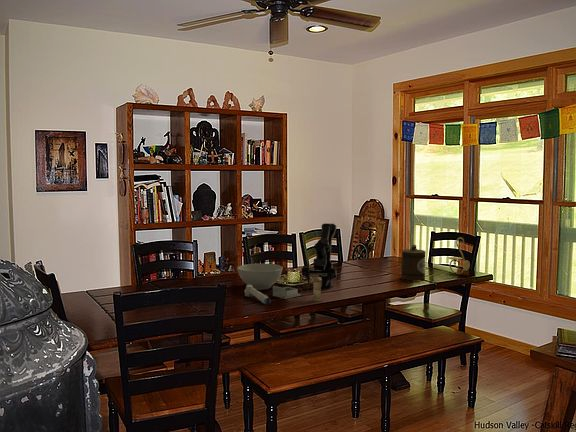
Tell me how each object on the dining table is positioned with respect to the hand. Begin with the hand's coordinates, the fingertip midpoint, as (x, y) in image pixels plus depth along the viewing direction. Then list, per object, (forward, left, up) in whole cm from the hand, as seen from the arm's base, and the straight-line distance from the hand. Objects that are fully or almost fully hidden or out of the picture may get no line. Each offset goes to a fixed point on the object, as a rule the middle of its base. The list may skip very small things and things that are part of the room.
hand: (317, 285), depth 270 cm
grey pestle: (+14, -29, -8) cm, 33 cm away
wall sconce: (-110, +51, -8) cm, 121 cm away
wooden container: (-81, +29, -8) cm, 86 cm away
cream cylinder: (0, 0, -8) cm, 8 cm away
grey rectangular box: (-1, -19, -8) cm, 21 cm away
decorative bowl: (-11, -43, -8) cm, 45 cm away
